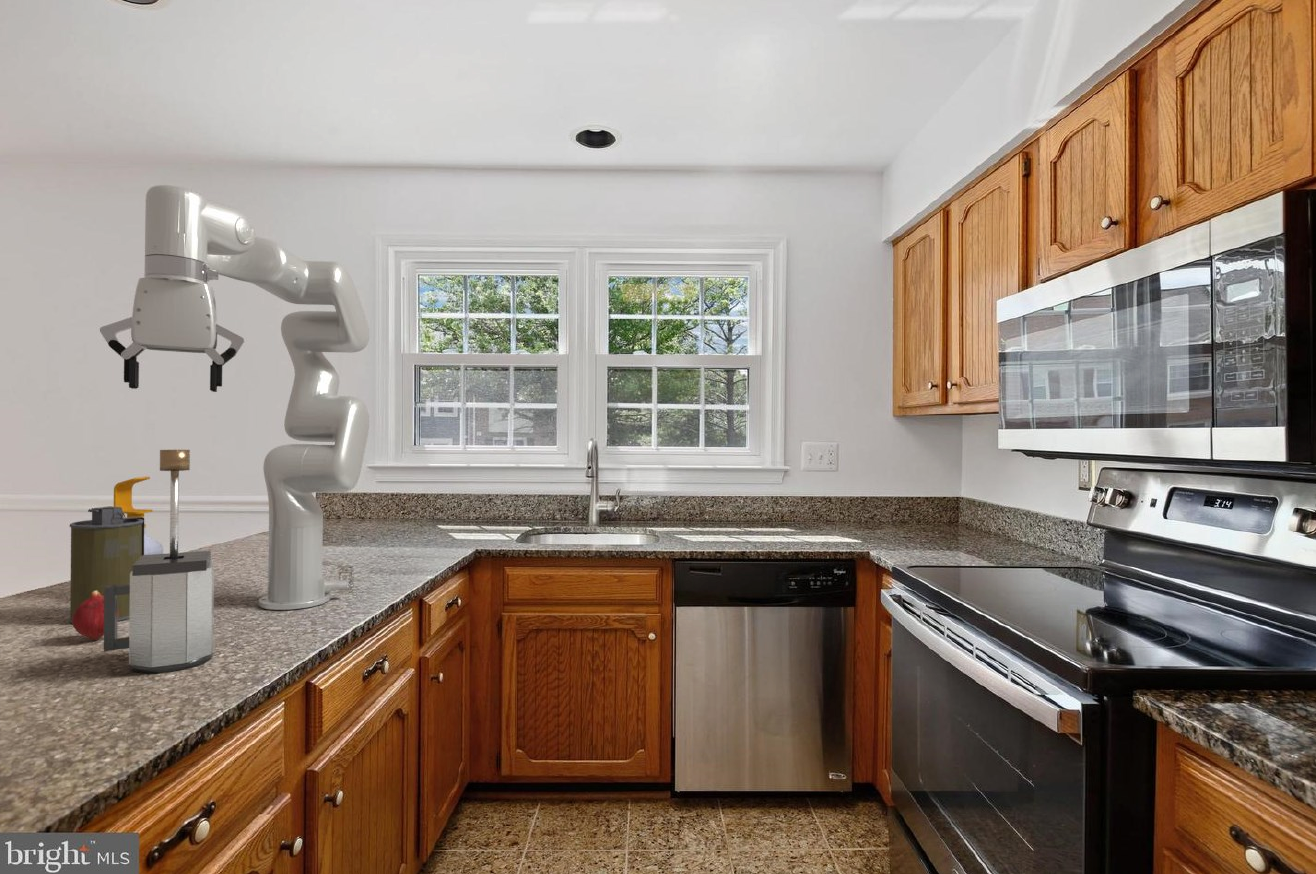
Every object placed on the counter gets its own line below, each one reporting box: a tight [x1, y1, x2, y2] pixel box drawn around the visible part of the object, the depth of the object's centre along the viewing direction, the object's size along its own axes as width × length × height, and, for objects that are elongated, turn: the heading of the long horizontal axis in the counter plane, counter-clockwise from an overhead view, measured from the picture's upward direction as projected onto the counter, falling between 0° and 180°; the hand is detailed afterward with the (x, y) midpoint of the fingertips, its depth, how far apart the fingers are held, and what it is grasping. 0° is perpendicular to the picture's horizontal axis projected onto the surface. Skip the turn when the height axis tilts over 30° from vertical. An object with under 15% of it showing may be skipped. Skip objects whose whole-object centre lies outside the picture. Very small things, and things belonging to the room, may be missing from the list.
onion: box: [71, 591, 119, 641], centre depth 109 cm, size 6×6×8 cm
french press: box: [103, 550, 215, 675], centre depth 99 cm, size 13×10×16 cm
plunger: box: [159, 449, 191, 559], centre depth 100 cm, size 7×7×20 cm
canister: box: [68, 506, 145, 624], centre depth 122 cm, size 11×10×20 cm
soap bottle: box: [113, 476, 164, 555], centre depth 136 cm, size 9×9×25 cm
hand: (174, 389), depth 99 cm, fingers open, 9 cm apart
